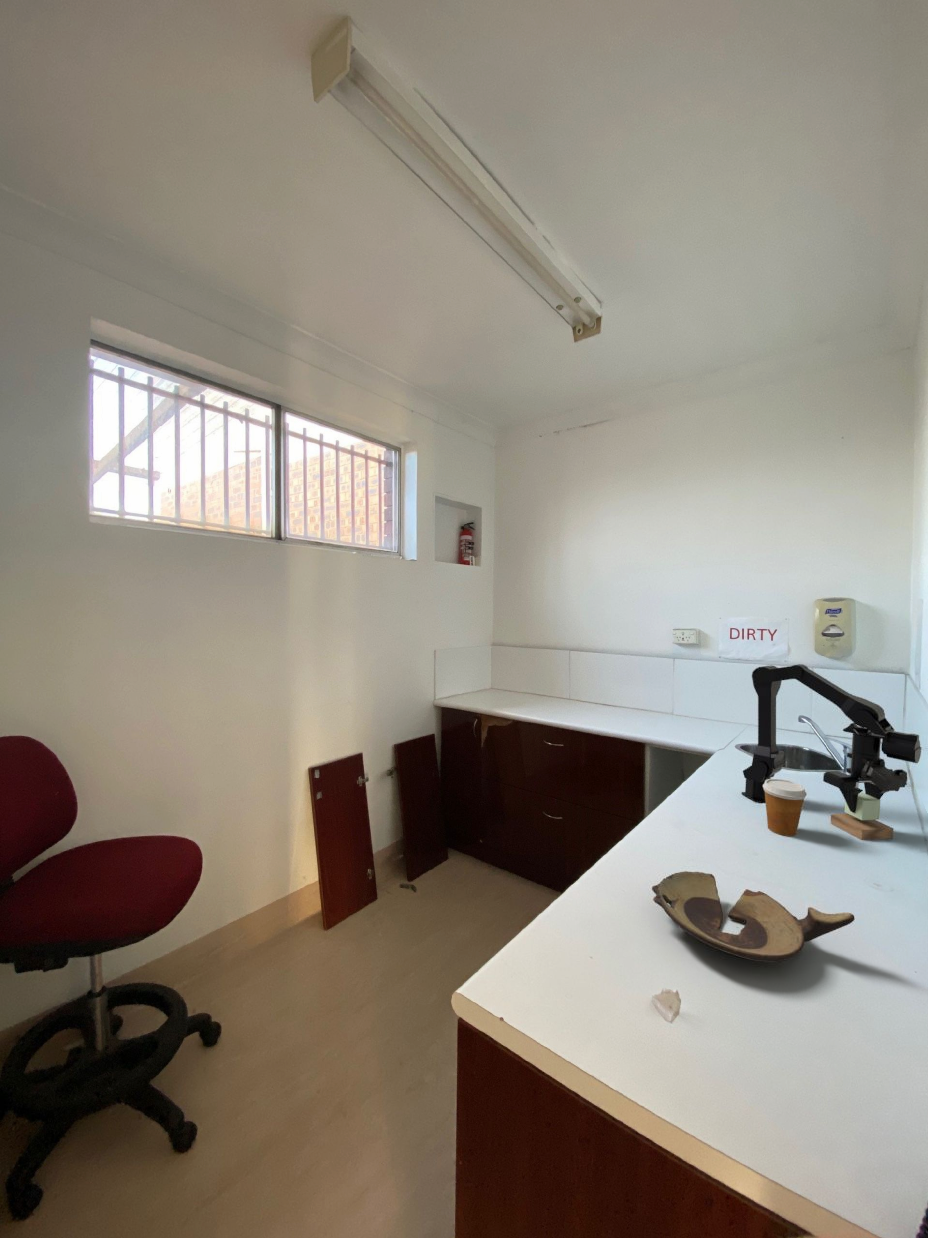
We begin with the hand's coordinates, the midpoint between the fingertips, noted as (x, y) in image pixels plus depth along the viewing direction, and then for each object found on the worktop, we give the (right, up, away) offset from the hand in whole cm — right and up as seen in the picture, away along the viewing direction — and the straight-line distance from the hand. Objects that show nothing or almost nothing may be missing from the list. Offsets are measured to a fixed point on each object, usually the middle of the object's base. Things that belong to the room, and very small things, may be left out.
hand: (861, 811), depth 131 cm
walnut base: (0, -5, 0) cm, 5 cm away
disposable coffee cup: (-21, -5, -1) cm, 22 cm away
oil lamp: (-54, -6, -43) cm, 70 cm away
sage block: (0, -1, 0) cm, 1 cm away
